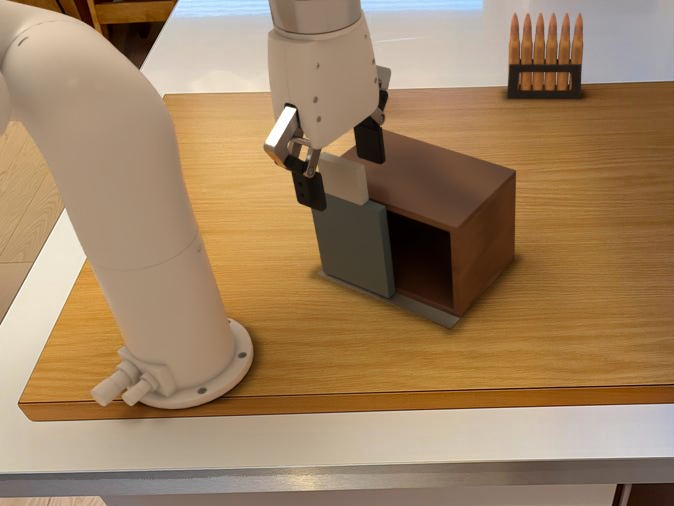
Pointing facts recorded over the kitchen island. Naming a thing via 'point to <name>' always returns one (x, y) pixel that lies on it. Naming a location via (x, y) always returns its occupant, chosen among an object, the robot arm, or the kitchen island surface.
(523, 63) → the ammunition clip
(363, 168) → the grey sliding door
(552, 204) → the kitchen island surface
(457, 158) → the cabinet
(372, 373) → the kitchen island surface
